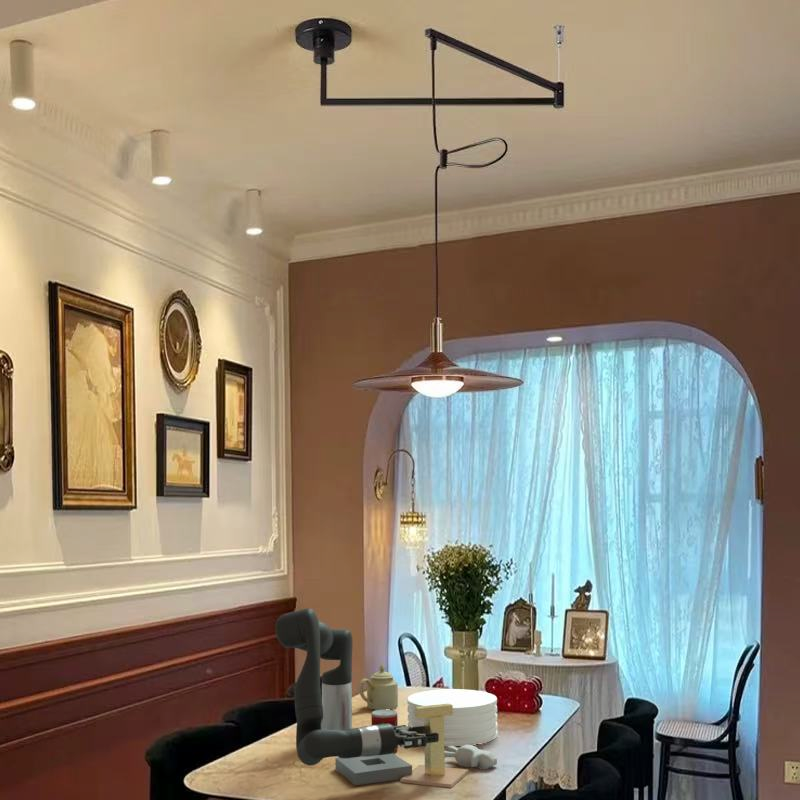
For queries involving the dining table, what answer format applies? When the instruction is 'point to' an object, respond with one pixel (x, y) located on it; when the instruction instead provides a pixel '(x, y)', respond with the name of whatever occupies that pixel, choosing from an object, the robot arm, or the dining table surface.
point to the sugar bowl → (380, 691)
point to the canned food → (385, 718)
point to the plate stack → (460, 714)
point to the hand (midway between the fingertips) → (431, 733)
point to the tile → (443, 781)
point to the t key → (434, 725)
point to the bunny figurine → (472, 756)
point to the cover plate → (373, 768)
